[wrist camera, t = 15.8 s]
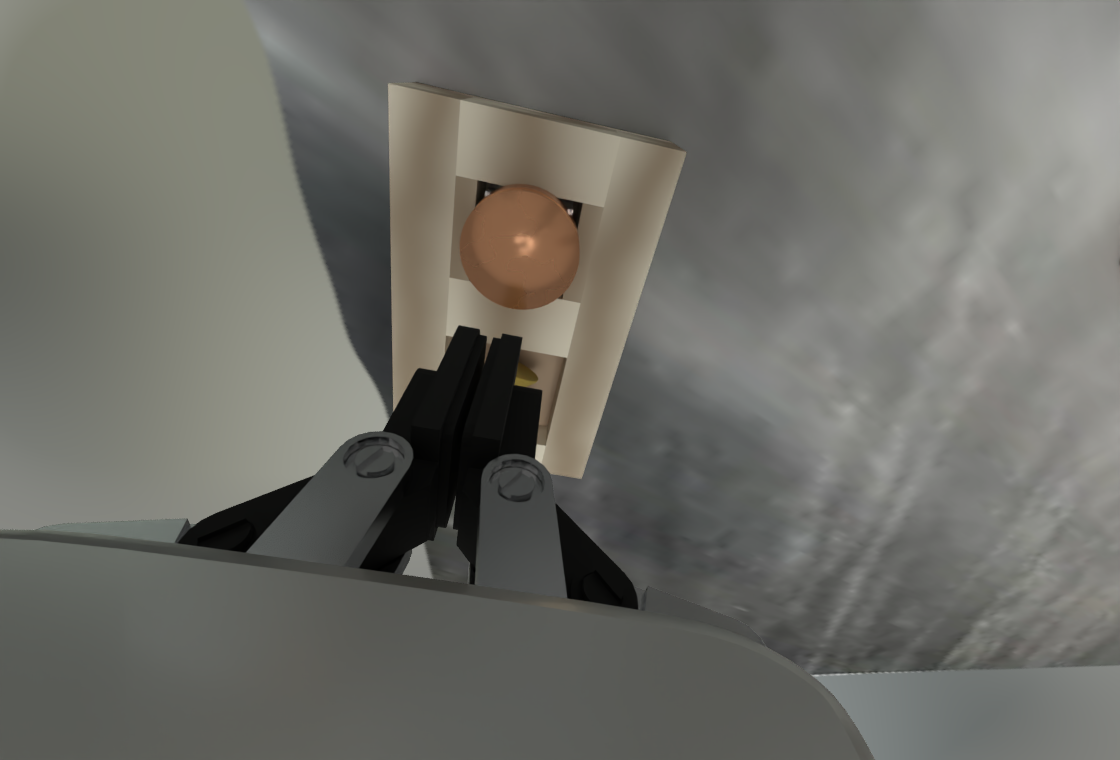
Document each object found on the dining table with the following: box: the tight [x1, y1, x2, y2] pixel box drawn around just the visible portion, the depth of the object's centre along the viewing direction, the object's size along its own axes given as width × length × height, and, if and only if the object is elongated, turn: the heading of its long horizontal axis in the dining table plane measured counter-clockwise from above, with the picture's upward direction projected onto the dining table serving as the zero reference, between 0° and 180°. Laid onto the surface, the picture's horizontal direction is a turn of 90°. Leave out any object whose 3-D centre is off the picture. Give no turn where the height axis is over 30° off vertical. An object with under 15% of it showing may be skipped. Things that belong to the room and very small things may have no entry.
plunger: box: [460, 183, 580, 310], centre depth 23 cm, size 6×6×4 cm
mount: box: [388, 82, 687, 479], centre depth 27 cm, size 13×21×4 cm, turn 169°
